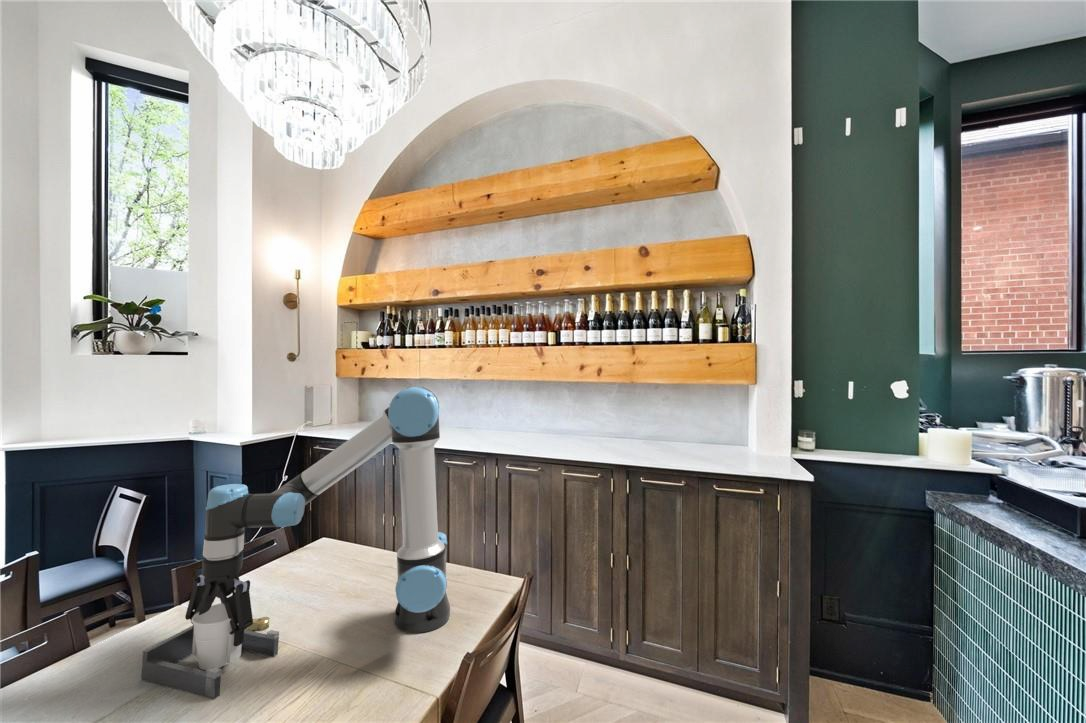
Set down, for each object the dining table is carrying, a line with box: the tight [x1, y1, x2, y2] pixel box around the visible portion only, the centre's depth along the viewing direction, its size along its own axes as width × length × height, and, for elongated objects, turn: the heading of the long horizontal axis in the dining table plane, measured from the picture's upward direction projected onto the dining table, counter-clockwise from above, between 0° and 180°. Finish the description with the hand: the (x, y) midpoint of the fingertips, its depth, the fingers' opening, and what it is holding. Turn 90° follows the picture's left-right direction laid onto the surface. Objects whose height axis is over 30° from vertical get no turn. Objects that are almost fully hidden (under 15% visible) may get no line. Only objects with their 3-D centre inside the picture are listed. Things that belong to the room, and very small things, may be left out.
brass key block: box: [244, 616, 270, 632], centre depth 112 cm, size 7×3×2 cm, turn 106°
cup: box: [191, 602, 238, 671], centre depth 97 cm, size 10×10×11 cm
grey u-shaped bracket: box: [140, 625, 280, 700], centre depth 97 cm, size 20×15×6 cm
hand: (216, 655), depth 97 cm, fingers closed on cup, 9 cm apart
